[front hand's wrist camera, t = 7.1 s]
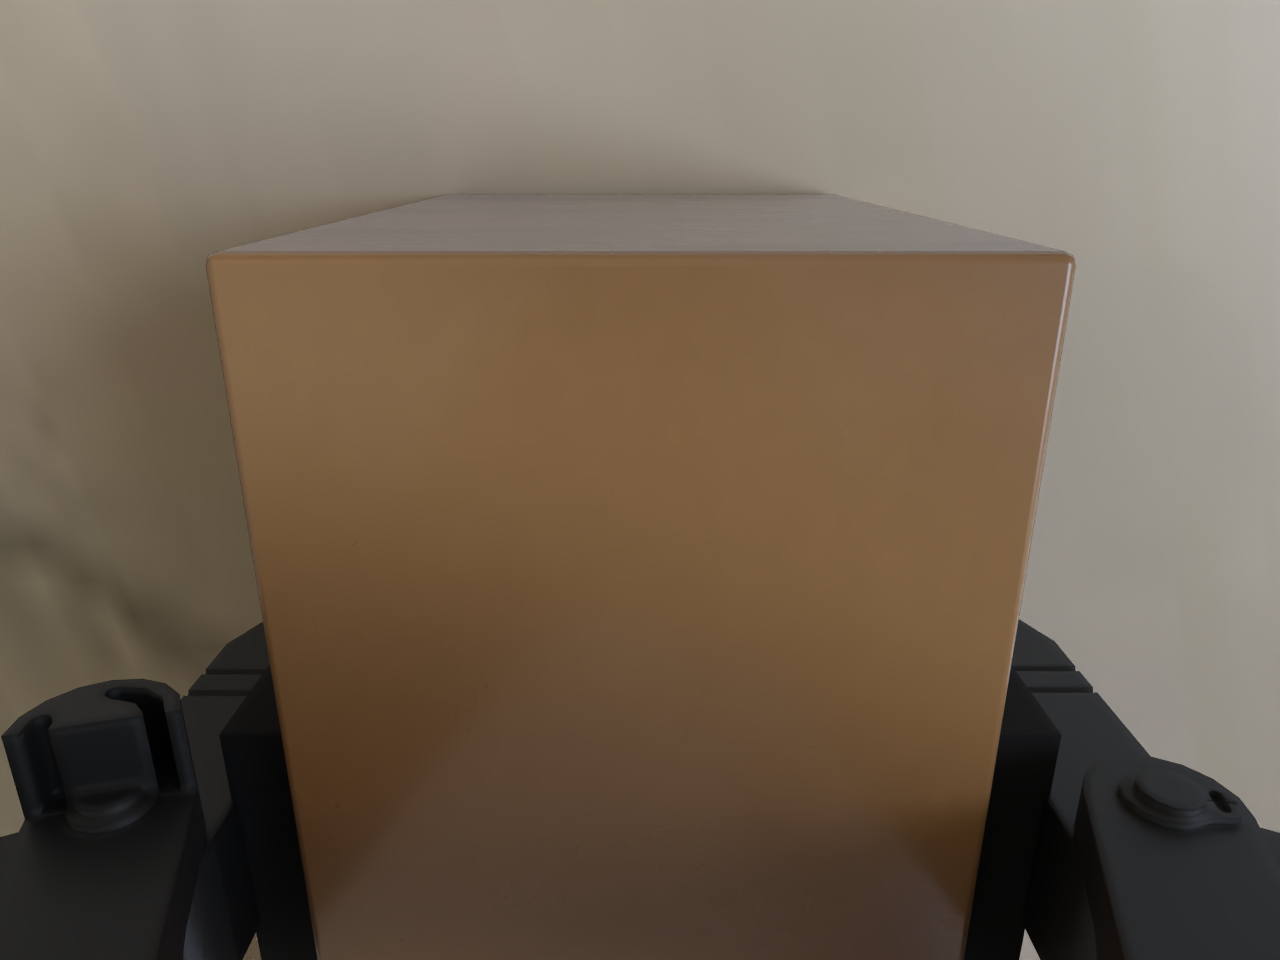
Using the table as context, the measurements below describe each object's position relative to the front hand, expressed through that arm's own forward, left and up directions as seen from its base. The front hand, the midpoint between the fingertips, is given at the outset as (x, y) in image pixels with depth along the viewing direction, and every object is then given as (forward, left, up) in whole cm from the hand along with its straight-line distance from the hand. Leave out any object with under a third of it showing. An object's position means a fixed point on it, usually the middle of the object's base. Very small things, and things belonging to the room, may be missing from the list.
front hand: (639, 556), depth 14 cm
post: (-3, +30, -1) cm, 30 cm away
